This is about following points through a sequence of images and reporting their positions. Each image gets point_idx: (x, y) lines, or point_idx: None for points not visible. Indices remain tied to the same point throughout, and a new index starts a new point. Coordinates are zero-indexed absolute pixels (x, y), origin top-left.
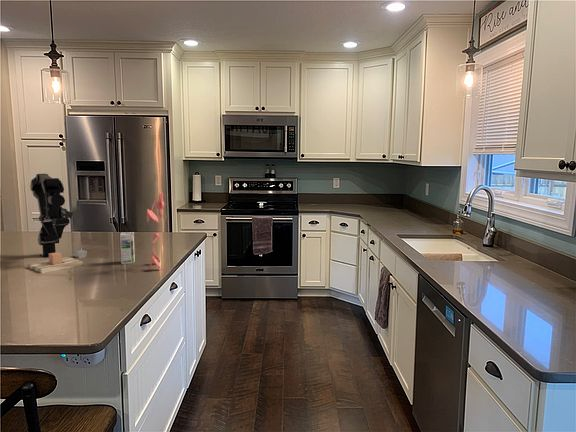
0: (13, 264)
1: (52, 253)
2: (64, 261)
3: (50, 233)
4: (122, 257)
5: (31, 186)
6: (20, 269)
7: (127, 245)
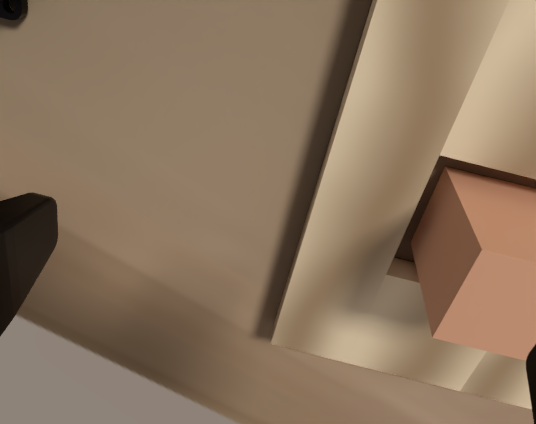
0: (78, 301)
1: (472, 317)
2: (533, 157)
3: (19, 271)
4: None
5: None
6: (273, 367)
7: None
